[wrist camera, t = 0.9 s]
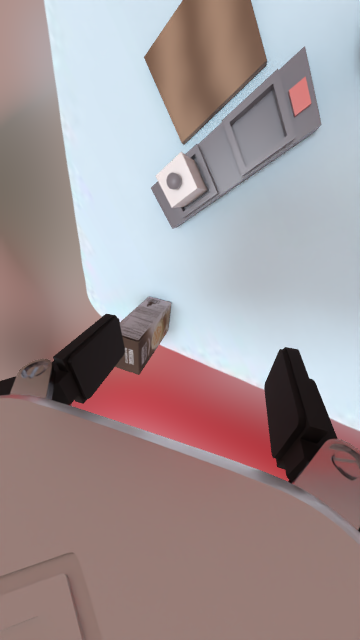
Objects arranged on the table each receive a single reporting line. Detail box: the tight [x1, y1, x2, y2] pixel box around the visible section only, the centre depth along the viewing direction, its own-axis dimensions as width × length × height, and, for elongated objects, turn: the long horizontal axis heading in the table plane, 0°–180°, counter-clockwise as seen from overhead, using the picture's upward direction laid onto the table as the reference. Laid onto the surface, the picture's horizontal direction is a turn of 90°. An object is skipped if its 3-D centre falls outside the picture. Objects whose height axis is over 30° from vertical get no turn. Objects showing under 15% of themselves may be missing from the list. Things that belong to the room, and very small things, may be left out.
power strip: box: [151, 47, 321, 229], centre depth 26 cm, size 22×7×4 cm, turn 122°
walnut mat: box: [144, 0, 267, 144], centre depth 23 cm, size 12×10×1 cm
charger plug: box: [156, 152, 208, 208], centre depth 25 cm, size 4×4×8 cm
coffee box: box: [115, 297, 171, 375], centre depth 40 cm, size 9×6×16 cm
